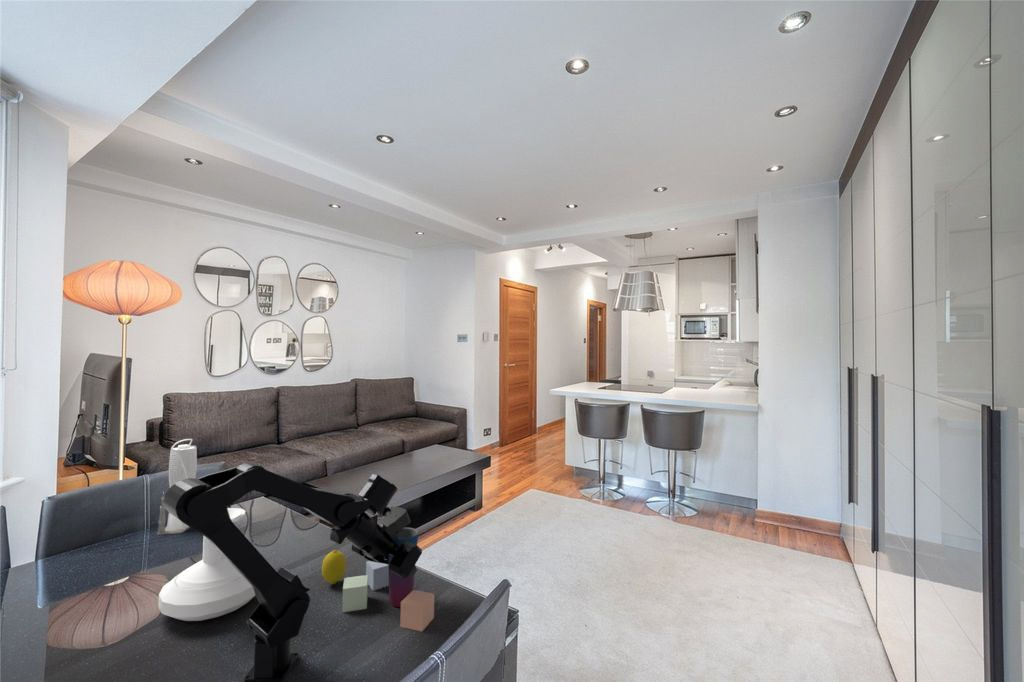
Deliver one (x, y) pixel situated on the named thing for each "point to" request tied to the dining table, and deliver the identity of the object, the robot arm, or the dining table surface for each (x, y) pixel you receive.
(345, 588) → the block sage
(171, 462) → the skyscraper
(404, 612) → the block terracotta
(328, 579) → the lemon
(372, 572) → the block slate
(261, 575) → the robot arm
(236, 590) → the candle holder
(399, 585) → the cup
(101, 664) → the dining table surface
